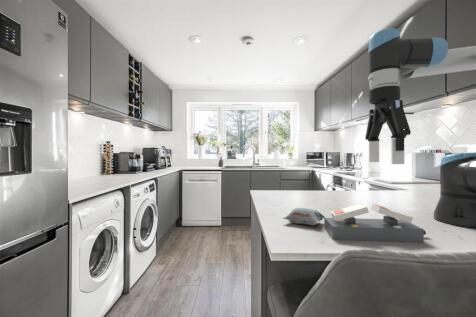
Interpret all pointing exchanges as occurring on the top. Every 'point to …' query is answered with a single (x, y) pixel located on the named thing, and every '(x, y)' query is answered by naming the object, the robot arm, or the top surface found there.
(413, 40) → the robot arm
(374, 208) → the rocker white
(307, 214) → the packaged food
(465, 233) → the top surface
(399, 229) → the rocker switch box
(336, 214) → the white switch paddle
